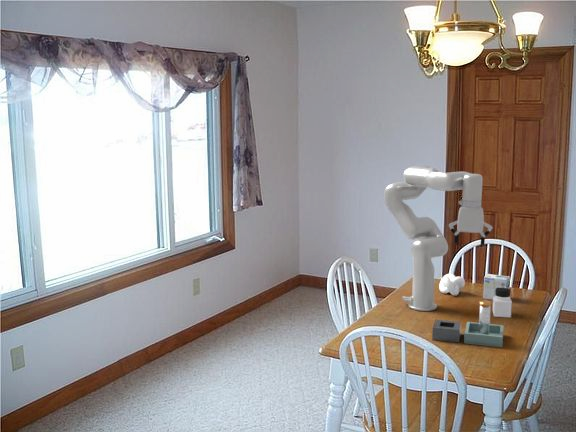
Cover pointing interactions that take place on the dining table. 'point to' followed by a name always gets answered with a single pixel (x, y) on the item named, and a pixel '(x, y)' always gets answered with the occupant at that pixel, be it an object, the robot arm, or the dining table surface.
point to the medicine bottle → (502, 303)
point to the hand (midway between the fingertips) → (469, 245)
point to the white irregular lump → (451, 284)
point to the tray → (483, 335)
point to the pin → (484, 317)
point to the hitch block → (446, 330)
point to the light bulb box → (494, 284)
